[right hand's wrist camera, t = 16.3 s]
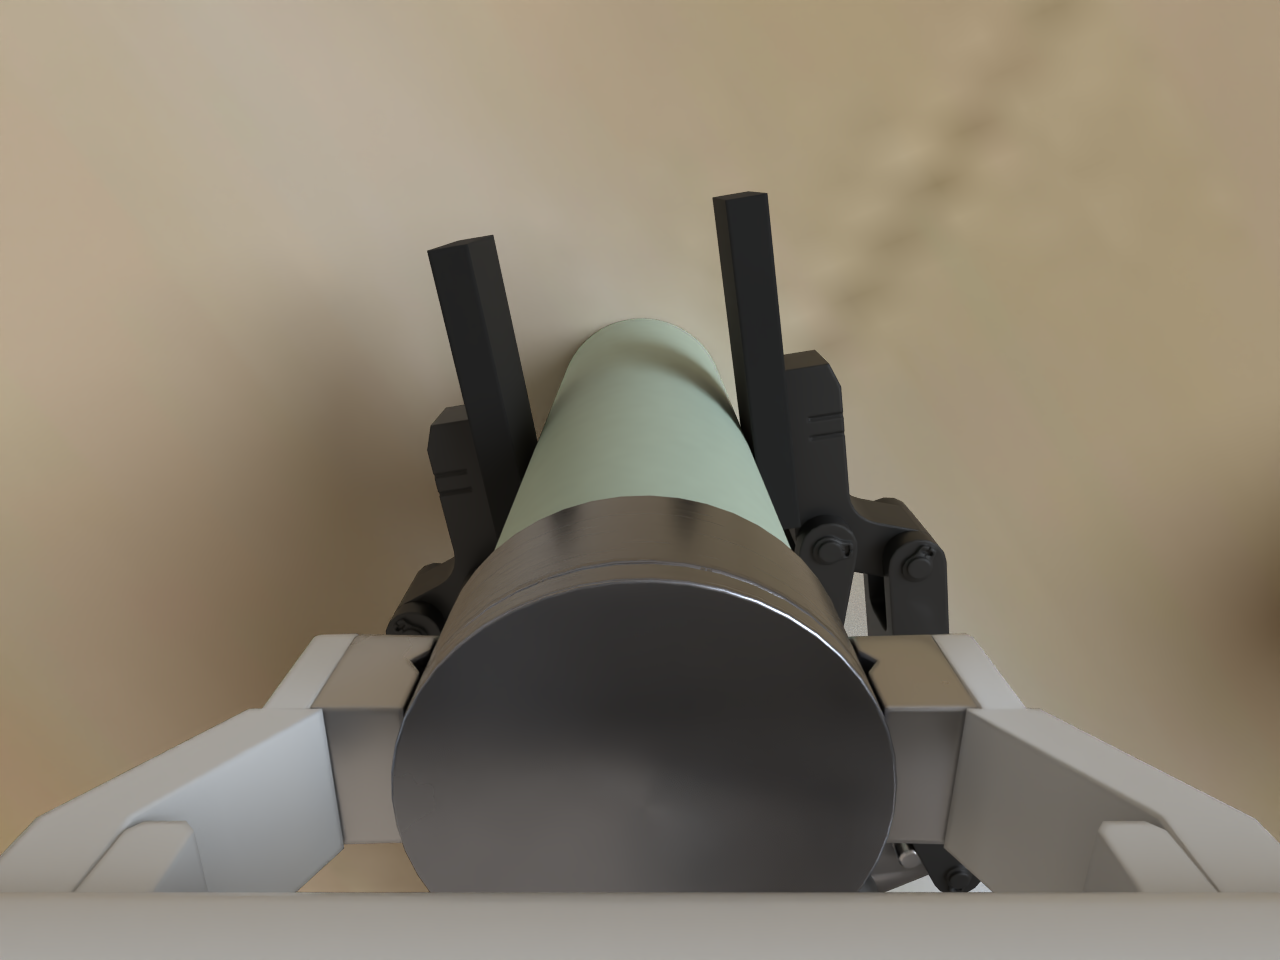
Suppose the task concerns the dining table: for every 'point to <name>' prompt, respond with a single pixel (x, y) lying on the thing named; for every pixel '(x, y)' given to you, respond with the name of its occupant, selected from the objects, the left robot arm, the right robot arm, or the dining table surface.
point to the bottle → (642, 431)
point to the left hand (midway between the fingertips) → (599, 221)
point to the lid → (643, 717)
